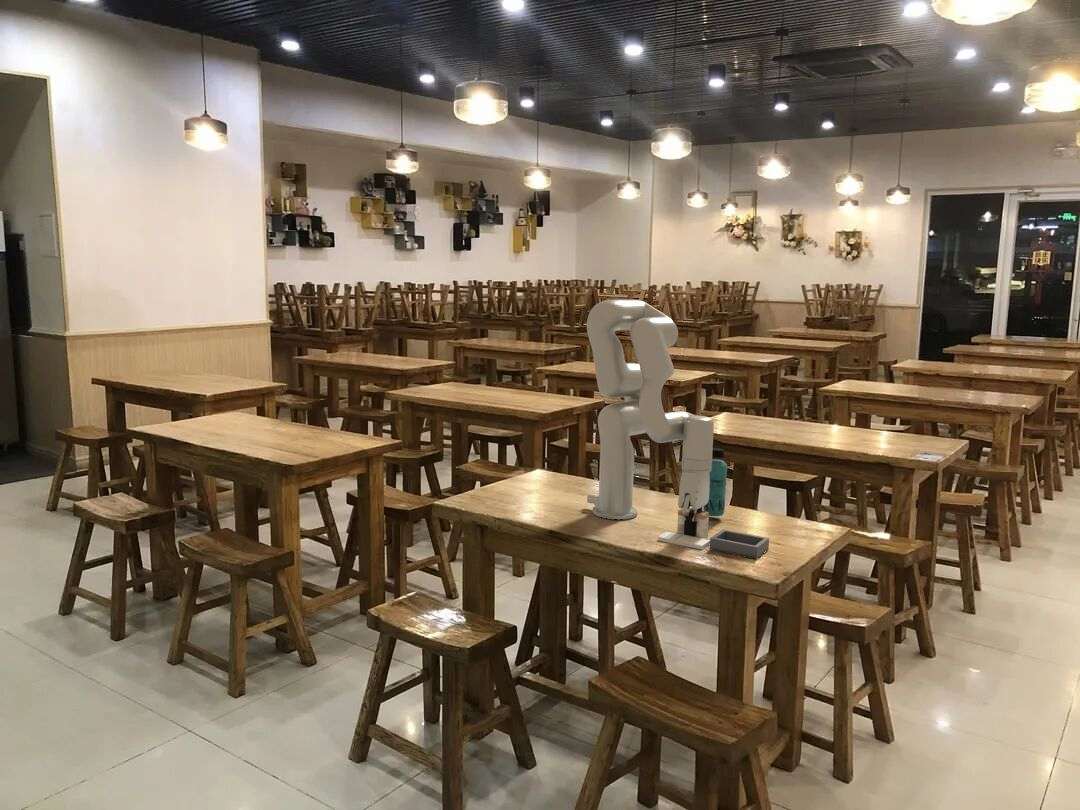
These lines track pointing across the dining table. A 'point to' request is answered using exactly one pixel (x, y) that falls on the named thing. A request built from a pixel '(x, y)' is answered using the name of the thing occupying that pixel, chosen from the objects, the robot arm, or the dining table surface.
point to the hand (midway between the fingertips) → (693, 532)
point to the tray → (739, 544)
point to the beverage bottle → (717, 485)
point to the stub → (702, 523)
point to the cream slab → (684, 540)
